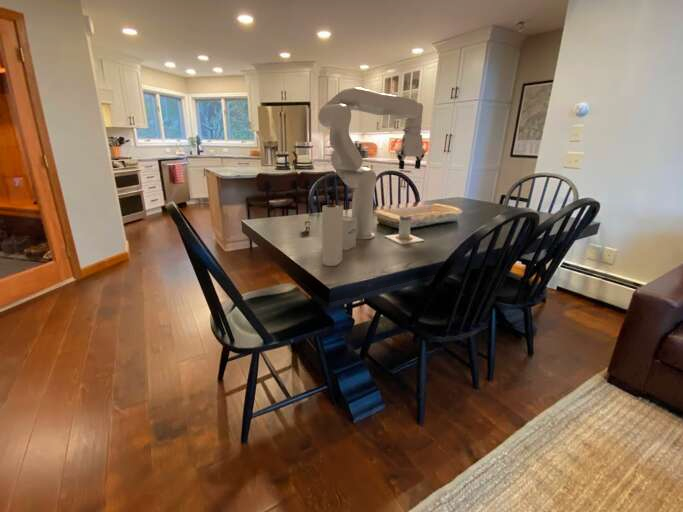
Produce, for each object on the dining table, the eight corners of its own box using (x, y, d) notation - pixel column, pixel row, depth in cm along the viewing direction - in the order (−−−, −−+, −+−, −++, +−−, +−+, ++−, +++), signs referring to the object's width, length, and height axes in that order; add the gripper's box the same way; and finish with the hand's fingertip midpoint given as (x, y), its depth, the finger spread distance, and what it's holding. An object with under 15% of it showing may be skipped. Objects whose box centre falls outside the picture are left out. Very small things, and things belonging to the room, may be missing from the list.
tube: (402, 239, 150) (404, 218, 146) (396, 236, 154) (397, 215, 151) (411, 238, 152) (413, 217, 148) (405, 235, 156) (406, 215, 153)
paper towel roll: (322, 266, 118) (322, 207, 111) (322, 260, 124) (322, 204, 117) (342, 266, 118) (343, 207, 111) (342, 260, 124) (343, 204, 117)
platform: (318, 228, 171) (318, 215, 168) (321, 238, 154) (321, 224, 152) (295, 228, 169) (295, 216, 167) (295, 238, 152) (295, 224, 150)
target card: (400, 244, 145) (400, 243, 145) (384, 237, 156) (384, 235, 156) (424, 241, 150) (424, 239, 150) (406, 234, 161) (406, 232, 161)
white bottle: (347, 251, 135) (348, 221, 131) (332, 247, 139) (332, 218, 135) (356, 246, 141) (357, 217, 137) (341, 243, 145) (342, 215, 141)
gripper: (402, 130, 149) (399, 169, 155) (432, 132, 156) (428, 169, 162) (392, 131, 155) (390, 168, 161) (422, 132, 163) (418, 167, 168)
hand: (409, 168), depth 162 cm, fingers open, 9 cm apart
